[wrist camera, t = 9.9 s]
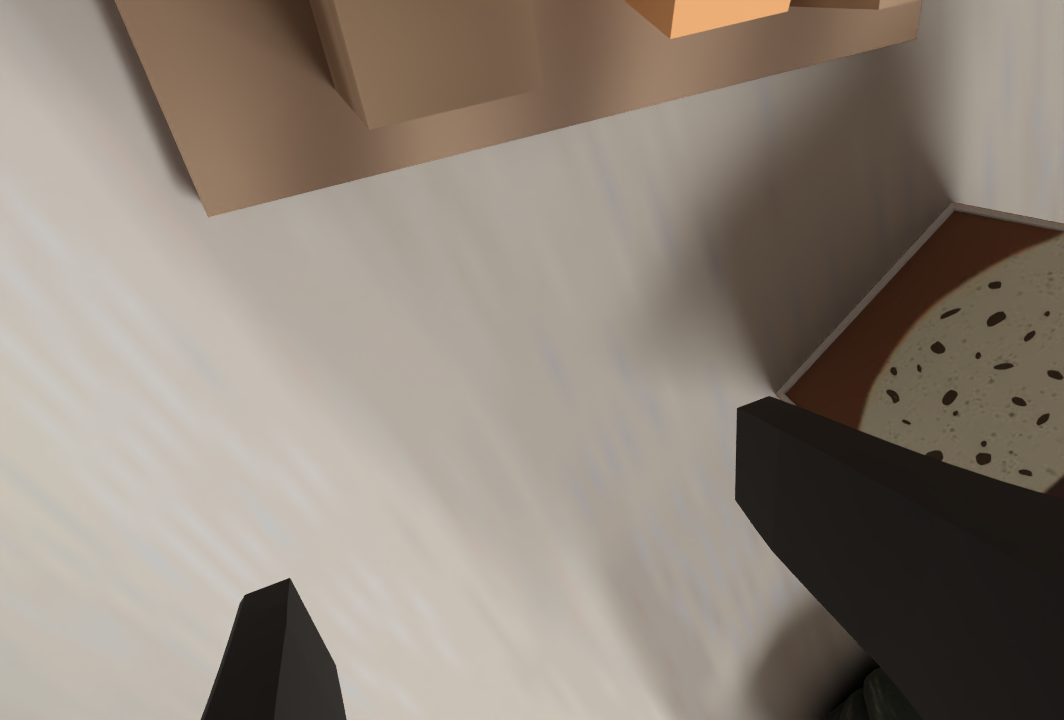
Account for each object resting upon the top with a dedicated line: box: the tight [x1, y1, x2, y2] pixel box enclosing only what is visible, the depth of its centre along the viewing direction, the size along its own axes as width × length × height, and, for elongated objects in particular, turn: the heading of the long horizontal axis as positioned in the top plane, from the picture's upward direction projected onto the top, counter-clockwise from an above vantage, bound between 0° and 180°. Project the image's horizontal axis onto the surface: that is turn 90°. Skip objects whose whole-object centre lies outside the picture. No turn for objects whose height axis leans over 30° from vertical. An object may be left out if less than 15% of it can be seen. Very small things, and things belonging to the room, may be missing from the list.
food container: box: [776, 202, 1064, 499], centre depth 23 cm, size 12×6×10 cm, turn 138°
